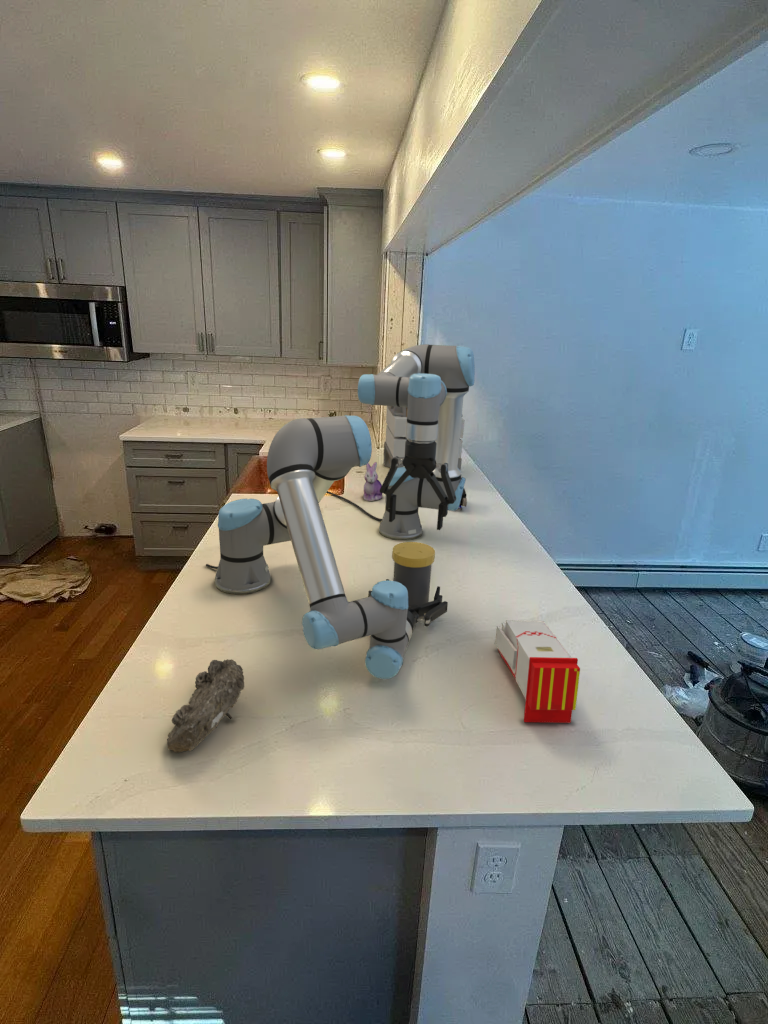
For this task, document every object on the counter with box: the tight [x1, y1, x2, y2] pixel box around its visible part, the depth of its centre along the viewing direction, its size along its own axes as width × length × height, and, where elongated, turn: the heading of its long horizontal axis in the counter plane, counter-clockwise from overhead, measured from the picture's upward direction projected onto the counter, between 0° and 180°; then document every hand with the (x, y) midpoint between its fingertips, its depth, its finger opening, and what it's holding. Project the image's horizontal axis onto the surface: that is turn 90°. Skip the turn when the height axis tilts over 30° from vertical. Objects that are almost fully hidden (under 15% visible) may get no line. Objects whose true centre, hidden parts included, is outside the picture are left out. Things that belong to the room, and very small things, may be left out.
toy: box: [494, 619, 581, 724], centre depth 121 cm, size 12×13×30 cm
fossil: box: [166, 658, 245, 754], centre depth 106 cm, size 22×10×15 cm
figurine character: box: [459, 488, 468, 511], centre depth 230 cm, size 7×8×15 cm
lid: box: [391, 541, 436, 568], centre depth 146 cm, size 11×11×2 cm
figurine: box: [362, 461, 383, 502], centre depth 233 cm, size 9×10×15 cm
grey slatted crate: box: [383, 406, 465, 472], centre depth 268 cm, size 34×33×41 cm
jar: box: [392, 560, 433, 606], centre depth 149 cm, size 10×10×16 cm
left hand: (412, 587), depth 149 cm, fingers open, 13 cm apart
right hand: (415, 524), depth 143 cm, fingers open, 12 cm apart
